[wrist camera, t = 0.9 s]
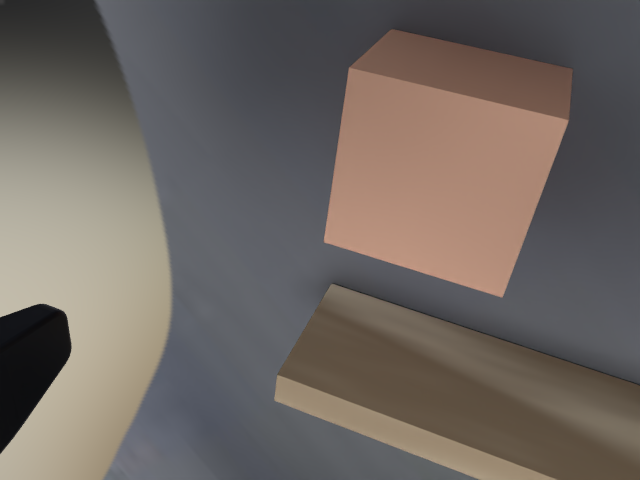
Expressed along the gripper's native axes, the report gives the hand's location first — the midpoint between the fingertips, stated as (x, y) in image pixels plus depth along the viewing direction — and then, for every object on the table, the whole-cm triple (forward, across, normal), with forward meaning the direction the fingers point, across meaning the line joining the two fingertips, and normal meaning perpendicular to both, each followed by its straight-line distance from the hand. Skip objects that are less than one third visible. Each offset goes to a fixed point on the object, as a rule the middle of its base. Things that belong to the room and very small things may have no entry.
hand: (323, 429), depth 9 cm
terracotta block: (+12, 0, 0) cm, 12 cm away
